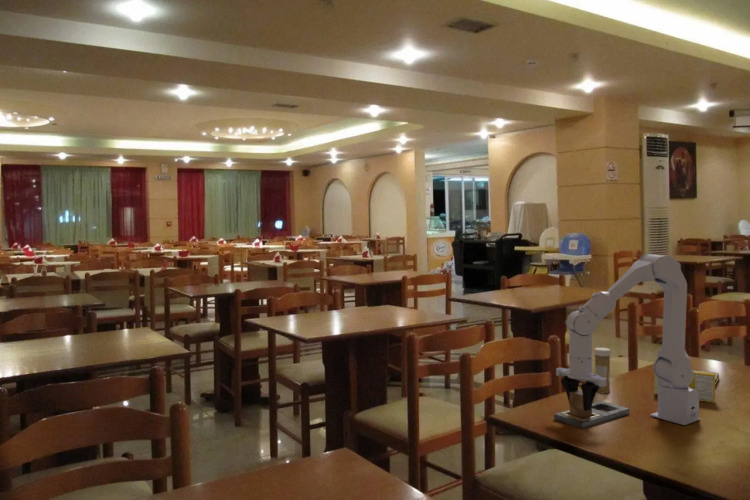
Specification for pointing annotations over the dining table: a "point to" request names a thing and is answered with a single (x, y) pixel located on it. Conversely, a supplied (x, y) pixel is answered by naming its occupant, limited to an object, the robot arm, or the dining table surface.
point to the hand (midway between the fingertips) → (580, 407)
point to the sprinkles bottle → (603, 367)
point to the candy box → (699, 386)
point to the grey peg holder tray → (593, 415)
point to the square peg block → (578, 405)
